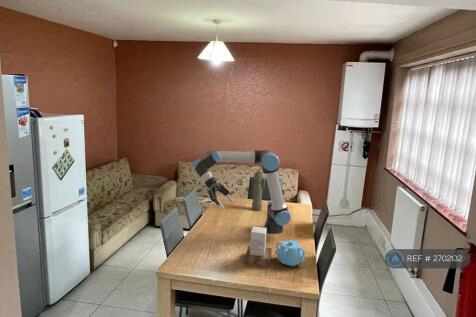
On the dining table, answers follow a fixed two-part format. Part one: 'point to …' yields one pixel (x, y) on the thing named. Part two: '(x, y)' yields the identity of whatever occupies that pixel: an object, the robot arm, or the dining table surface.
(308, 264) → the dining table surface
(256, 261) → the walnut block
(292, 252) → the decorative pot
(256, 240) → the supplement box
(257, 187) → the thermos
